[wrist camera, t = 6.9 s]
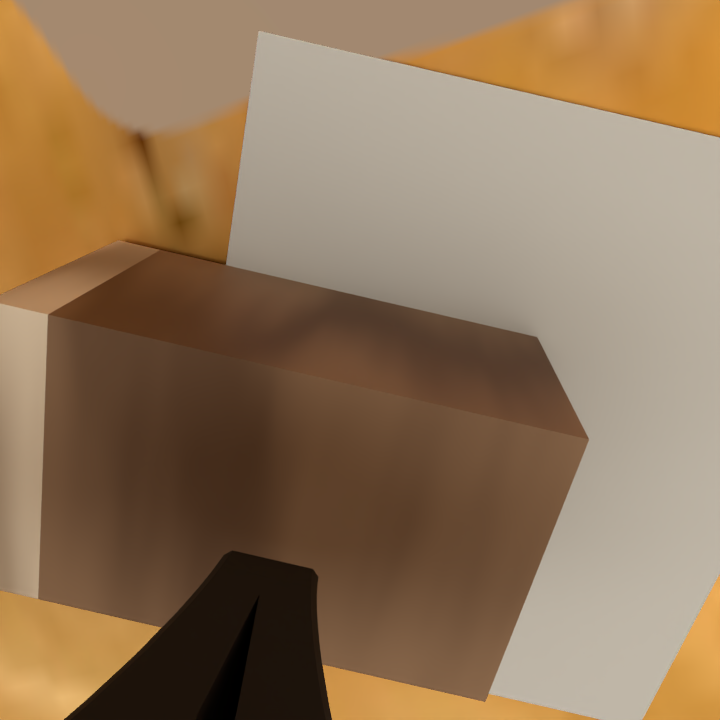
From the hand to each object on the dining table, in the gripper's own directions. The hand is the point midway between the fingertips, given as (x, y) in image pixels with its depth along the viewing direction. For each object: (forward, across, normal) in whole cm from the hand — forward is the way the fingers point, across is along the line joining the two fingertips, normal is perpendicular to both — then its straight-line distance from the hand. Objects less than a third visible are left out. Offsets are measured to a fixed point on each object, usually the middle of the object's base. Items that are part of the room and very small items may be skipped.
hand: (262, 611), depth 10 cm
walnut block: (+5, +6, 0) cm, 7 cm away
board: (+7, -4, 0) cm, 8 cm away
